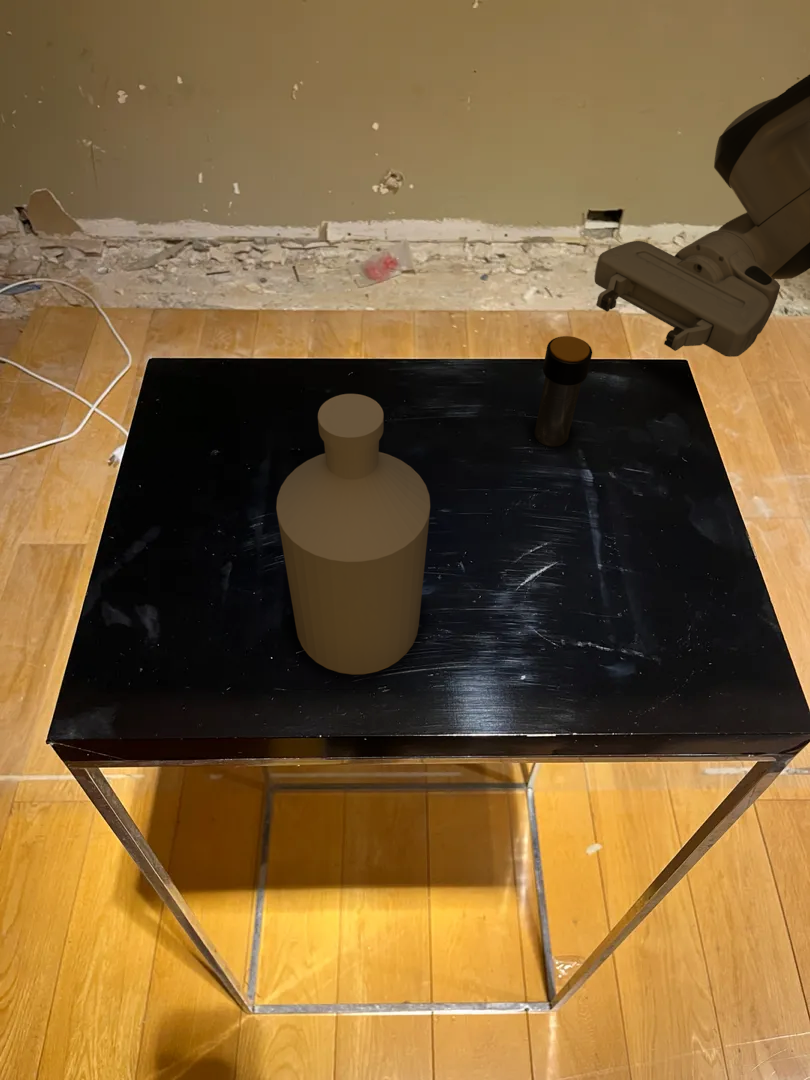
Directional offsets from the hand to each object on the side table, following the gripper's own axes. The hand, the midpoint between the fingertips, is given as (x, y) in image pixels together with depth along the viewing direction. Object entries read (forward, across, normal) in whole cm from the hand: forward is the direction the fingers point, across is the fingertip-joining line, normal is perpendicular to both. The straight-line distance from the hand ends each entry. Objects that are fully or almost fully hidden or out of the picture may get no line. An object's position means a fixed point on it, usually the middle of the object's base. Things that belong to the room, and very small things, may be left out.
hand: (635, 322), depth 91 cm
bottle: (+45, +5, +10) cm, 46 cm away
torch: (+12, 0, +10) cm, 15 cm away
